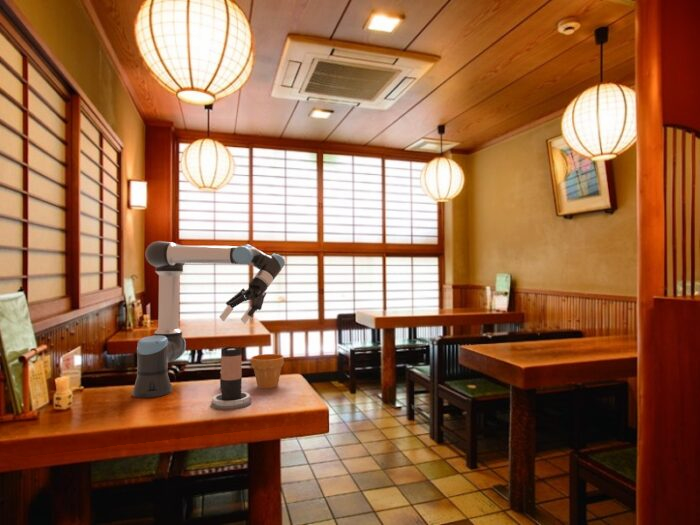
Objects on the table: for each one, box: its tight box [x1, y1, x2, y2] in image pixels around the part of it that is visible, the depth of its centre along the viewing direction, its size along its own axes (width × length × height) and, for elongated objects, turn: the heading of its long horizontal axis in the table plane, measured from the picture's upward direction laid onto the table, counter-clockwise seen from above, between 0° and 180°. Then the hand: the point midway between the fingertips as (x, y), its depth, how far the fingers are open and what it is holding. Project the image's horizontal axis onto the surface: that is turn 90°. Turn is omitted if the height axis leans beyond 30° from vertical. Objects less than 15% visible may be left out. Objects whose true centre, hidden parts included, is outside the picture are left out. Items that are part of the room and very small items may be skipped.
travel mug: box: [220, 346, 243, 401], centre depth 166 cm, size 8×8×20 cm
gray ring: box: [210, 391, 252, 411], centre depth 165 cm, size 15×15×3 cm
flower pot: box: [250, 353, 285, 389], centre depth 191 cm, size 14×14×13 cm
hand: (231, 320), depth 175 cm, fingers open, 13 cm apart
